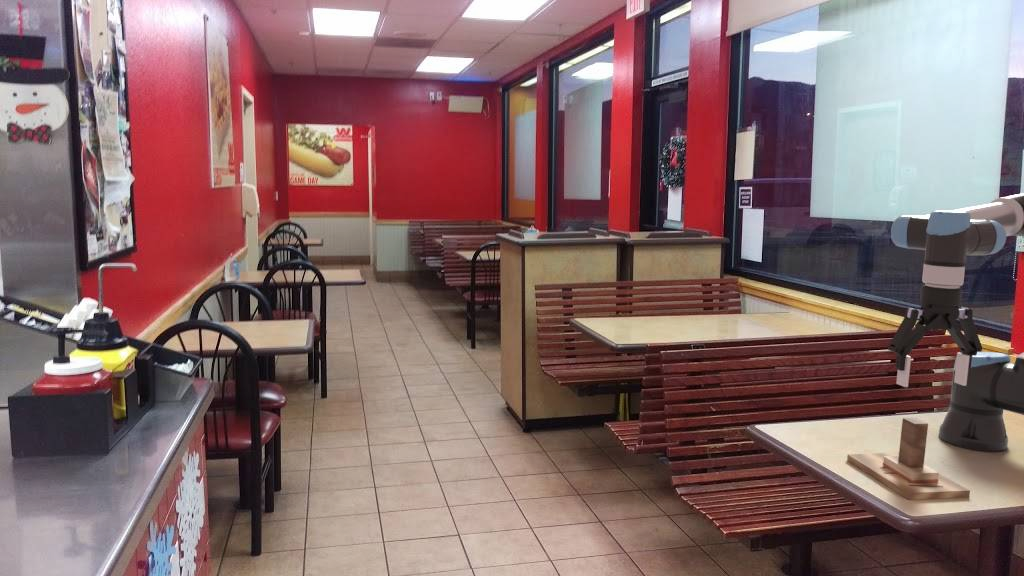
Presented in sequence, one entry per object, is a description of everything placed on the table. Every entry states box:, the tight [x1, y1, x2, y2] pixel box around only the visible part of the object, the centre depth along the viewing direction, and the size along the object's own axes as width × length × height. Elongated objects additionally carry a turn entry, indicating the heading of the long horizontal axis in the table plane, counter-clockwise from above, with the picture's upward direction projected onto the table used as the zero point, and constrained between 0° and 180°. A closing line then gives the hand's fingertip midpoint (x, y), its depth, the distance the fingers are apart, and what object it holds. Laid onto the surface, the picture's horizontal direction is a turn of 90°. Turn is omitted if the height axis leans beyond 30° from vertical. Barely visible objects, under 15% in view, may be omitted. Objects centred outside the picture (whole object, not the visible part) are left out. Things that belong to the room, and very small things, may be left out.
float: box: [883, 417, 940, 483], centre depth 169 cm, size 6×10×12 cm, turn 9°
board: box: [846, 452, 971, 501], centre depth 171 cm, size 14×22×2 cm, turn 9°
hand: (931, 384), depth 163 cm, fingers open, 13 cm apart
